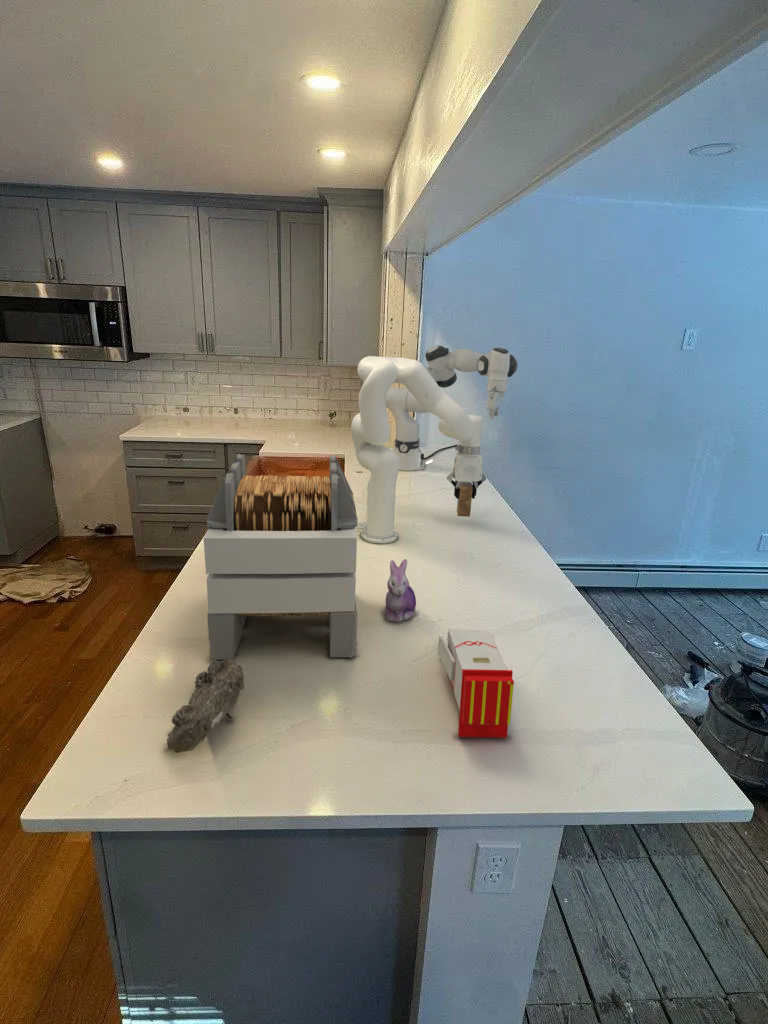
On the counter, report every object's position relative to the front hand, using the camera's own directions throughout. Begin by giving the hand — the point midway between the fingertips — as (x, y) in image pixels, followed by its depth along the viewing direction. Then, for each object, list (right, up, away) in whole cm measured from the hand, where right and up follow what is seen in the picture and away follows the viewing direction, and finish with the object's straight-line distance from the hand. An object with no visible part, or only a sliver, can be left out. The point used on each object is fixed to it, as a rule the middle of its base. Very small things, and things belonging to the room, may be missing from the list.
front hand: (464, 497), depth 210 cm
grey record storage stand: (-54, -33, -68) cm, 93 cm away
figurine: (-26, -32, -62) cm, 75 cm away
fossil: (-63, -45, -101) cm, 127 cm away
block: (0, -6, +2) cm, 7 cm away
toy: (-12, -43, -91) cm, 101 cm away
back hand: (+20, +38, +48) cm, 64 cm away
